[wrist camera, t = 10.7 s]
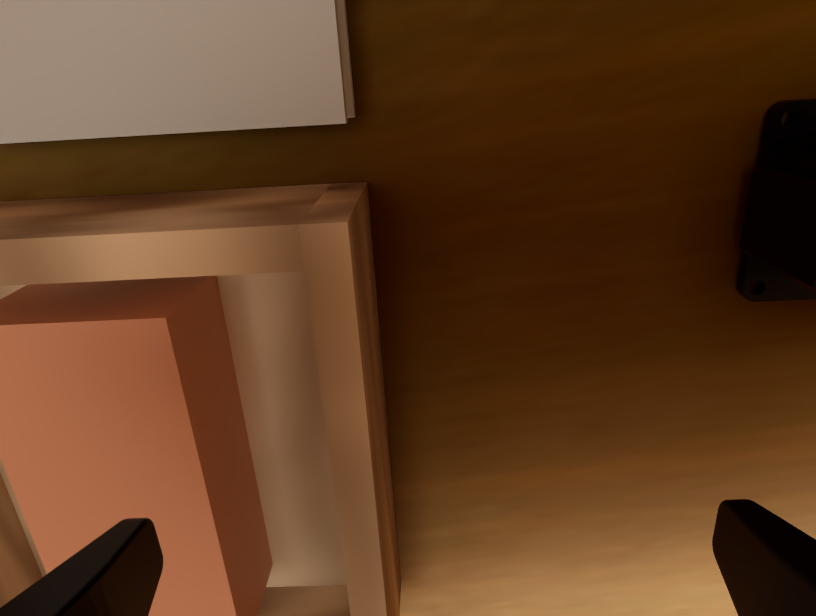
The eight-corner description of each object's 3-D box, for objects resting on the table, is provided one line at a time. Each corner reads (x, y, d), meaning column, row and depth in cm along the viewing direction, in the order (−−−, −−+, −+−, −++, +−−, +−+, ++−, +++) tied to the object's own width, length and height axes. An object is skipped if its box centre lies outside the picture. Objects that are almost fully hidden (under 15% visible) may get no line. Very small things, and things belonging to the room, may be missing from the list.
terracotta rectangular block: (215, 270, 19) (165, 318, 15) (272, 564, 24) (245, 654, 20) (39, 277, 19) (-52, 327, 15) (132, 568, 24) (80, 658, 20)
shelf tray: (367, 181, 19) (347, 221, 14) (400, 581, 26) (396, 706, 21) (-109, 207, 20) (-294, 255, 15) (47, 590, 26) (-42, 714, 21)
